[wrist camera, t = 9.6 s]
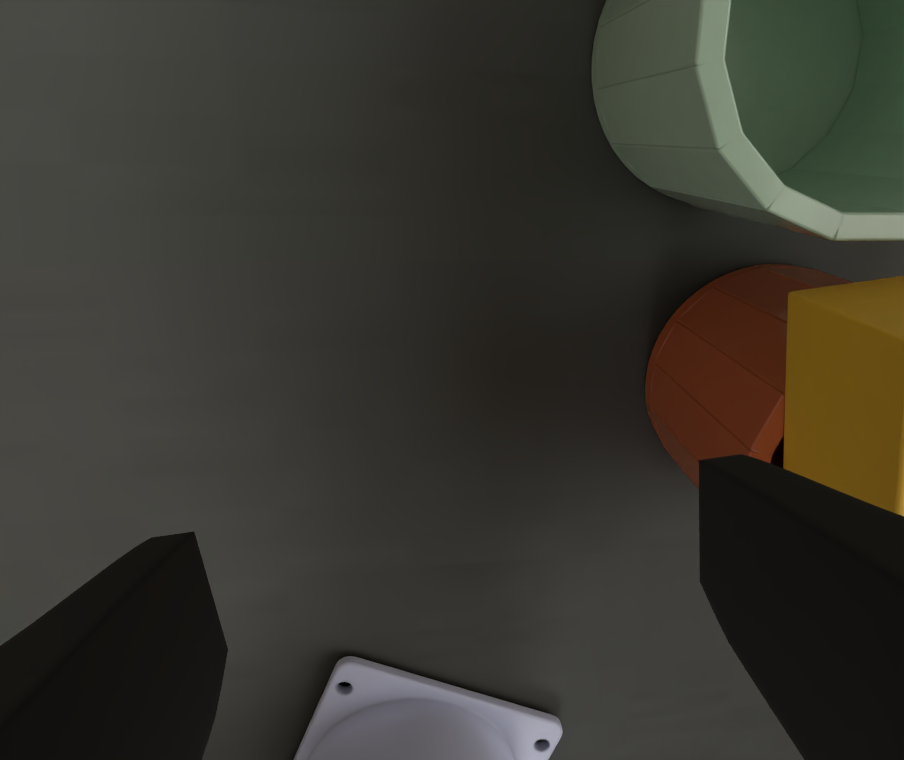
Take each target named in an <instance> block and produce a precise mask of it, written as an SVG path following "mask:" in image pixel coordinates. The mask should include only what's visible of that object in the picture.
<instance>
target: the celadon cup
mask: <svg viewBox="0 0 904 760" xmlns="http://www.w3.org/2000/svg"><path fill="white" fill-rule="evenodd" d="M592 88H593V97H594V102H595V106H596V110H597V114H598V118H599V121H600V123H601V126H602V128H603V131H604V134H605V136H606V138H607V139H608V141H609V143H610V145H611V147H612V149H613V150H614V152H615V153H616V154H617V156H618V157H619V158H620V160H621V161H622V162H623V164H624V165H625V166H626V167H627V168H628V169H629V170H630V171H631V172H632V173H633V174H634V175H635V176H636V177H637V178H639V179H640V180H641V181H643V182H644V183H645V184H646V185H648V186H649V187H651V188H653V189H655V190H656V191H658V192H660V193H662V194H664V195H666V196H669V197H672V198H674V199H677V200H680V201H683V202H685V203H687V204H689V205H692V206H694V207H698V208H702V209H706V210H710V211H714V212H718V213H722V214H726V215H730V216H734V217H739V218H743V219H747V220H751V221H755V222H759V223H763V224H767V225H771V226H775V227H779V228H783V229H787V230H791V231H795V232H799V233H803V234H807V235H811V236H815V237H819V238H823V239H827V240H832V241H904V0H606V2H605V5H604V8H603V10H602V13H601V16H600V19H599V22H598V26H597V30H596V34H595V38H594V45H593V53H592Z"/></svg>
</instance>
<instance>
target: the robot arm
mask: <svg viewBox="0 0 904 760" xmlns="http://www.w3.org/2000/svg"><path fill="white" fill-rule="evenodd" d="M699 532H700V583H701V585H702V587H703V589H704V591H705V594H706V596H707V598H708V600H709V602H710V605H711V607H712V609H713V611H714V613H715V615H716V617H717V620H718V622H719V624H720V626H721V628H722V630H723V632H724V634H725V636H726V638H727V640H728V642H729V644H730V645H731V647H732V648H733V650H734V652H735V653H736V655H737V656H738V658H739V660H740V661H741V663H742V664H743V666H744V667H745V669H746V670H747V672H748V674H749V675H750V677H751V678H752V680H753V681H754V683H755V685H756V686H757V688H758V689H759V691H760V692H761V694H762V695H763V697H764V698H765V700H766V701H767V703H768V705H769V706H770V708H771V709H772V711H773V712H774V714H775V715H776V717H777V718H778V720H779V721H780V723H781V724H782V726H783V727H784V729H785V731H786V732H787V734H788V735H789V737H790V738H791V740H792V741H793V743H794V744H795V746H796V747H797V749H798V750H799V752H800V754H801V755H802V757H803V758H804V760H904V516H901V515H899V514H896V513H893V512H891V511H888V510H885V509H883V508H880V507H878V506H875V505H872V504H870V503H867V502H865V501H862V500H860V499H857V498H855V497H852V496H850V495H847V494H845V493H842V492H840V491H838V490H835V489H833V488H830V487H828V486H825V485H823V484H820V483H818V482H815V481H813V480H811V479H808V478H806V477H803V476H801V475H798V474H796V473H793V472H791V471H789V470H786V469H783V468H781V467H778V466H776V465H773V464H771V463H768V462H765V461H762V460H759V459H757V458H754V457H750V456H747V455H743V454H738V455H731V456H724V457H717V458H710V459H703V460H699ZM227 652H228V648H227V645H226V641H225V638H224V634H223V631H222V627H221V624H220V620H219V617H218V613H217V610H216V606H215V603H214V599H213V596H212V592H211V589H210V585H209V582H208V578H207V575H206V571H205V568H204V564H203V561H202V557H201V554H200V550H199V547H198V543H197V540H196V536H195V533H194V532H188V533H181V534H174V535H167V536H160V537H153V538H150V539H148V540H146V541H145V542H143V543H141V544H140V545H138V546H137V547H135V548H134V549H132V550H131V551H129V552H128V553H126V554H125V555H123V556H122V557H121V558H119V559H118V560H116V561H115V562H114V563H112V564H111V565H110V566H108V567H107V568H106V569H104V570H103V571H102V572H100V573H99V574H97V575H96V576H95V577H94V578H92V579H91V580H90V581H88V582H87V583H86V584H84V585H83V586H82V587H80V588H79V589H78V590H76V591H75V592H74V593H72V594H71V595H70V596H68V597H67V598H66V599H64V600H63V601H62V602H60V603H59V604H58V605H56V606H55V607H54V608H52V609H51V610H50V611H48V612H47V613H46V614H44V615H43V616H42V617H40V618H39V619H38V620H36V621H35V622H34V623H32V624H31V625H29V626H28V627H27V628H25V629H24V630H22V631H21V632H20V633H18V634H17V635H15V636H14V637H12V638H11V639H10V640H8V641H7V642H5V643H4V644H2V645H1V646H0V760H202V757H203V754H204V751H205V748H206V744H207V741H208V738H209V735H210V732H211V729H212V726H213V723H214V719H215V716H216V711H217V706H218V701H219V696H220V691H221V686H222V680H223V675H224V669H225V663H226V657H227ZM341 682H348V683H350V684H351V685H349V686H341V685H340V684H339V683H341ZM562 733H563V731H562V726H561V723H560V720H559V719H558V718H557V717H556V716H554V715H551V714H548V713H544V712H541V711H538V710H534V709H531V708H527V707H524V706H521V705H517V704H514V703H511V702H507V701H504V700H500V699H497V698H494V697H490V696H487V695H484V694H480V693H477V692H473V691H470V690H467V689H463V688H460V687H457V686H453V685H450V684H446V683H443V682H440V681H436V680H433V679H429V678H426V677H423V676H419V675H416V674H413V673H409V672H406V671H402V670H399V669H396V668H392V667H389V666H386V665H382V664H379V663H375V662H372V661H369V660H365V659H362V658H358V657H354V656H347V657H343V658H342V659H340V660H339V661H338V662H337V663H336V665H335V667H334V669H333V671H332V674H331V676H330V678H329V680H328V683H327V685H326V687H325V689H324V692H323V694H322V696H321V698H320V701H319V703H318V705H317V708H316V710H315V712H314V714H313V717H312V719H311V721H310V723H309V726H308V728H307V730H306V732H305V735H304V737H303V739H302V741H301V744H300V746H299V748H298V750H297V753H296V755H295V757H294V759H293V760H548V759H549V757H550V756H551V754H552V752H553V750H554V749H555V747H556V745H557V743H558V742H559V740H560V738H561V736H562ZM540 739H545V740H544V741H542V742H536V741H537V740H540Z"/></svg>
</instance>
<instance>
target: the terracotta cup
mask: <svg viewBox="0 0 904 760" xmlns="http://www.w3.org/2000/svg"><path fill="white" fill-rule="evenodd" d="M848 283H854V282H851V281H848V280H845V279H842V278H839V277H836V276H832V275H829V274H826V273H823V272H820V271H817V270H814V269H811V268H807V267H798V266H793V265H785V264H765V265H756V266H751V267H746V268H742V269H739V270H736V271H733V272H730V273H728V274H726V275H724V276H721V277H719V278H717V279H715V280H713V281H712V282H710V283H709V284H707V285H705V286H704V287H702V288H701V289H699V290H698V291H697V292H695V293H694V294H693V295H692V296H691V297H689V298H688V299H687V300H686V301H685V302H684V303H683V304H682V305H681V306H680V307H679V308H678V309H677V310H676V311H675V313H674V314H673V315H672V317H671V318H670V319H669V320H668V322H667V323H666V325H665V326H664V328H663V330H662V331H661V333H660V335H659V336H658V339H657V341H656V343H655V345H654V348H653V350H652V353H651V356H650V360H649V363H648V367H647V373H646V380H645V397H646V406H647V410H648V414H649V418H650V421H651V423H652V426H653V428H654V430H655V433H656V434H657V436H658V437H659V439H660V441H661V442H662V445H663V446H664V448H665V449H666V451H667V452H668V453H669V454H670V456H671V457H672V458H673V459H674V460H675V462H676V463H677V464H678V465H679V466H680V468H681V469H682V470H683V471H684V472H685V474H686V475H687V476H688V477H689V478H690V480H691V481H692V482H693V483H694V485H695V486H696V487H697V488H698V489H699V460H703V459H710V458H717V457H724V456H731V455H738V454H743V455H747V456H750V457H754V458H757V459H759V460H762V461H765V462H768V463H771V464H773V465H776V466H778V467H781V468H783V456H784V421H785V386H786V351H787V315H788V294H789V293H790V292H792V291H798V290H805V289H812V288H820V287H827V286H834V285H841V284H848Z"/></svg>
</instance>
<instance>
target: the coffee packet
mask: <svg viewBox="0 0 904 760" xmlns="http://www.w3.org/2000/svg"><path fill="white" fill-rule="evenodd" d="M783 469H786V470H789V471H791V472H793V473H796V474H798V475H801V476H803V477H806V478H808V479H811V480H813V481H815V482H818V483H820V484H823V485H825V486H828V487H830V488H833V489H835V490H838V491H840V492H842V493H845V494H847V495H850V496H852V497H855V498H857V499H860V500H862V501H865V502H867V503H870V504H872V505H875V506H878V507H880V508H883V509H885V510H888V511H891V512H893V513H896V514H899V515H901V516H904V276H899V277H891V278H884V279H877V280H870V281H863V282H856V283H848V284H841V285H834V286H827V287H820V288H812V289H805V290H798V291H792V292H790V293H789V294H788V315H787V351H786V386H785V421H784V456H783Z"/></svg>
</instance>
